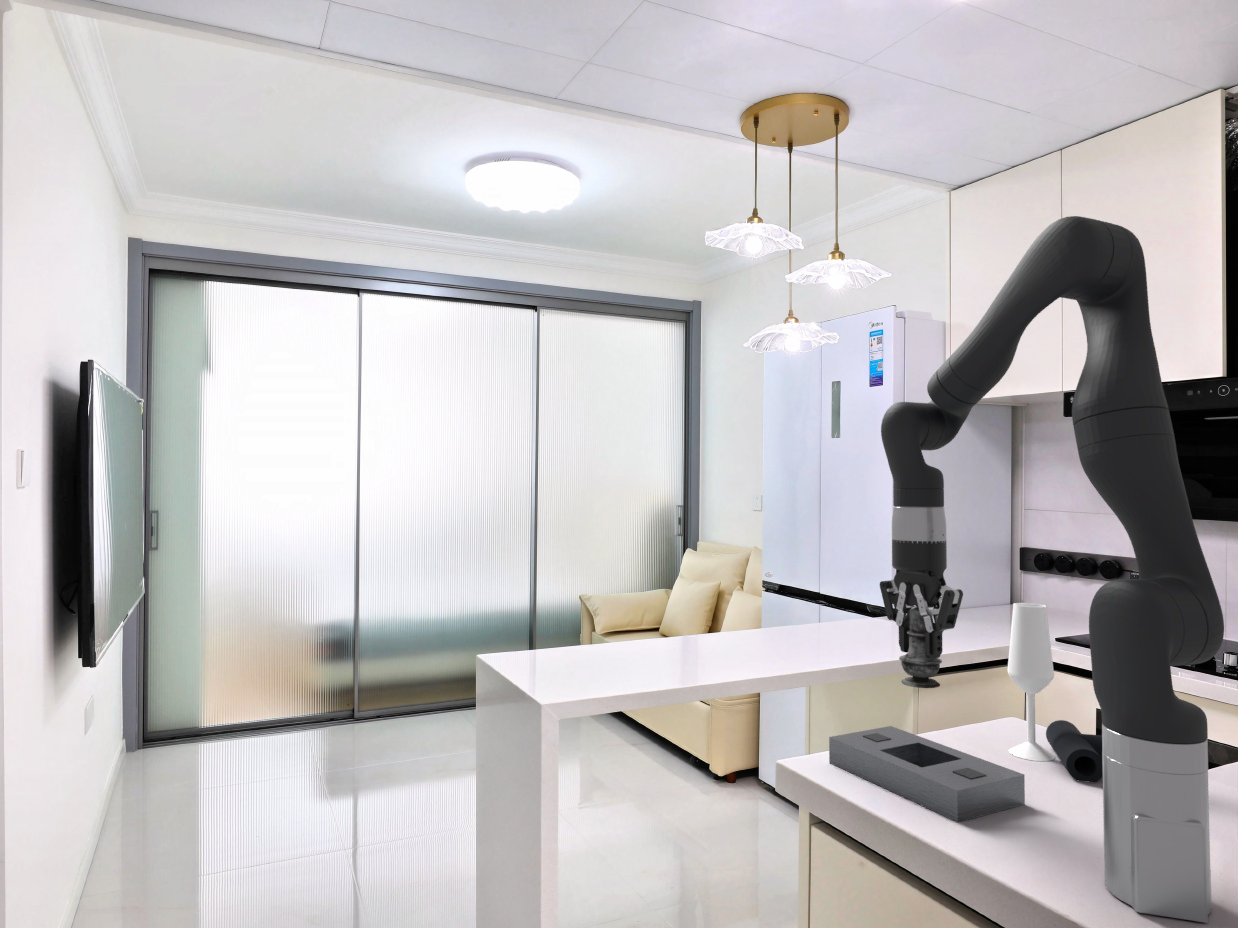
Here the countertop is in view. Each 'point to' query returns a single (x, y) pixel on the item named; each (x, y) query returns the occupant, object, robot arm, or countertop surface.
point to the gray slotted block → (928, 772)
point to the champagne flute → (1030, 668)
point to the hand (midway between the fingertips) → (920, 653)
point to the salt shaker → (919, 656)
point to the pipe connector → (1076, 750)
